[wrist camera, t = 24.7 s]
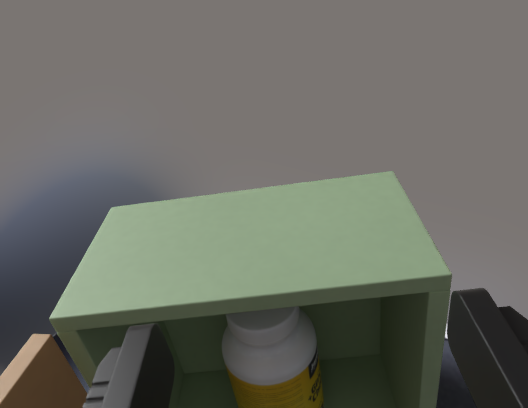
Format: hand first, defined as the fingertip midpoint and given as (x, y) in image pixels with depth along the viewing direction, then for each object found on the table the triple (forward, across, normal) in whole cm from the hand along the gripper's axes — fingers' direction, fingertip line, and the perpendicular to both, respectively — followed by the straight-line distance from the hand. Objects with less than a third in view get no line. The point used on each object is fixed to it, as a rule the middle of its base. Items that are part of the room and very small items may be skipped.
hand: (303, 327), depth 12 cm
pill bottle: (+11, +3, +22) cm, 25 cm away
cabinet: (+11, +3, +23) cm, 25 cm away
